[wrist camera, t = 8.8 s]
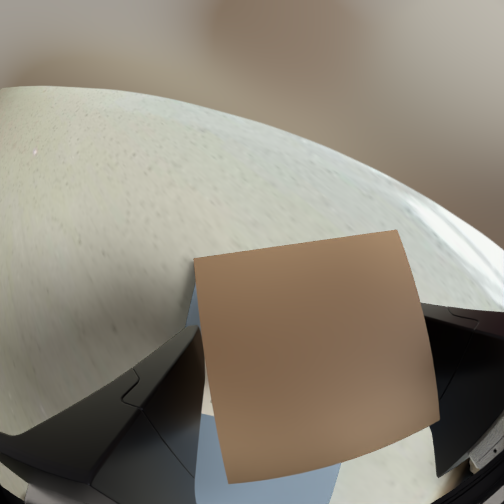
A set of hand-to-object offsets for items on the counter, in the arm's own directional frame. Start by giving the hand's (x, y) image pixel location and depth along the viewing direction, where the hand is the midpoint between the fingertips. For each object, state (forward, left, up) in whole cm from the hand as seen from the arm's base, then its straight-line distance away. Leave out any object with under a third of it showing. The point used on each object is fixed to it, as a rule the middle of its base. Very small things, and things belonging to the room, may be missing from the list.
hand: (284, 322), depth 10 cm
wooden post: (-1, 0, -8) cm, 8 cm away
